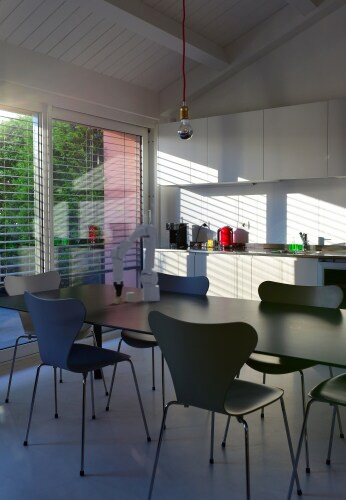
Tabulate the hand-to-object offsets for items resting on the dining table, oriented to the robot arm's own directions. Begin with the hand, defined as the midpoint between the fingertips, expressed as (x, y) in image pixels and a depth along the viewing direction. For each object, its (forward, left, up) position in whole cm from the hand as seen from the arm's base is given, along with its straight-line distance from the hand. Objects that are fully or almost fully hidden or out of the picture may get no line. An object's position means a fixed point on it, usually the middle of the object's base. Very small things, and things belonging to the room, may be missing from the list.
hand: (118, 295), depth 282 cm
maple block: (0, -10, -6) cm, 12 cm away
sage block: (-7, -15, -6) cm, 18 cm away
